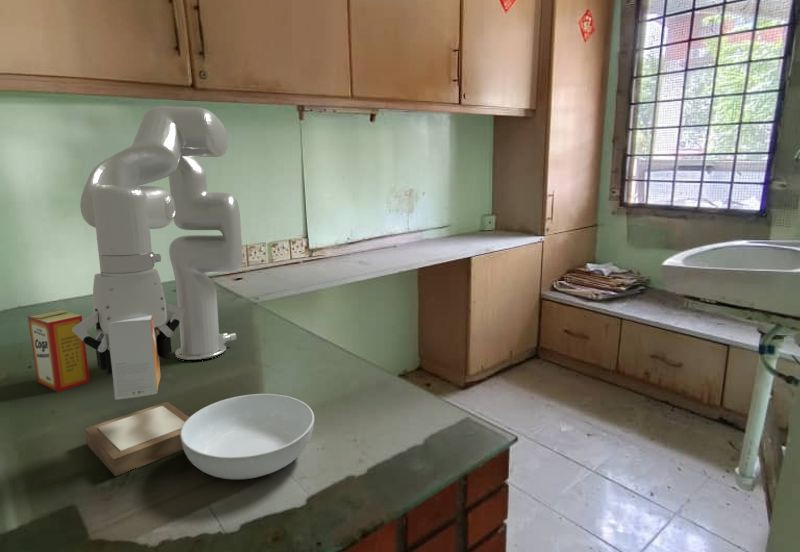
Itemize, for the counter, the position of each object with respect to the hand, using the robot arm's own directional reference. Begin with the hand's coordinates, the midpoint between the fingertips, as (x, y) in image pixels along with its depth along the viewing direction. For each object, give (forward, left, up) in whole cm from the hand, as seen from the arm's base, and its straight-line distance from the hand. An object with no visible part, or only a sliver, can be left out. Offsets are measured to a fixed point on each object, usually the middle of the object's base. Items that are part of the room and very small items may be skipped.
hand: (136, 364), depth 81 cm
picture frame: (0, 0, -15) cm, 15 cm away
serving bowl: (-10, +18, -15) cm, 25 cm away
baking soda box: (+2, -41, -15) cm, 44 cm away
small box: (0, 0, -5) cm, 5 cm away
